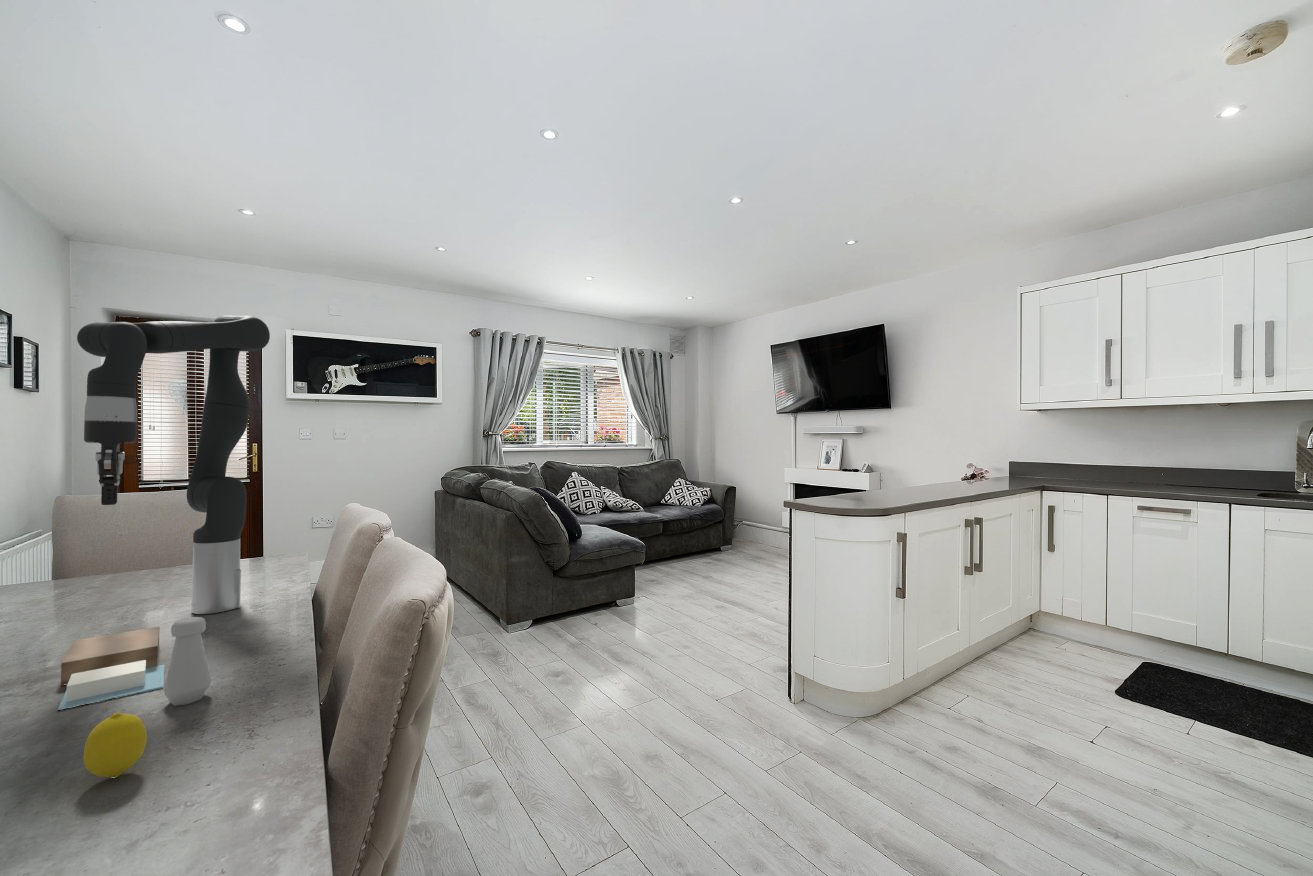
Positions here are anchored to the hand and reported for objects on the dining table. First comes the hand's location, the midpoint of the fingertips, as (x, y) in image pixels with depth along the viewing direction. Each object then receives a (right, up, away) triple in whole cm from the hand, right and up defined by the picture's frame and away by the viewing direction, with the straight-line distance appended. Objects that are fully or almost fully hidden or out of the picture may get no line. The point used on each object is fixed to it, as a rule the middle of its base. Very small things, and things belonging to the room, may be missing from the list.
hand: (109, 504), depth 109 cm
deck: (+10, -29, -9) cm, 32 cm away
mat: (+19, -29, -18) cm, 39 cm away
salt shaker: (+35, -29, -22) cm, 51 cm away
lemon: (+44, -29, -42) cm, 68 cm away
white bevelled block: (+19, -26, -19) cm, 37 cm away
